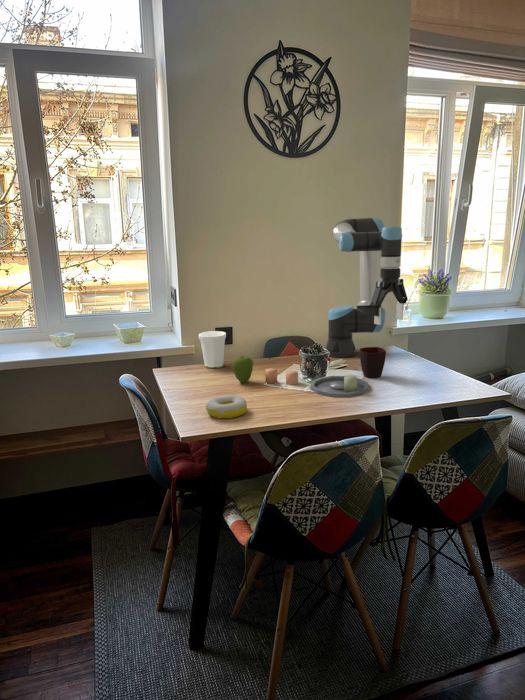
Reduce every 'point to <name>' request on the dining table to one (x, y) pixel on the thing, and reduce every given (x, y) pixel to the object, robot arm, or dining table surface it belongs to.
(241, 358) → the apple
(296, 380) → the terracotta bead
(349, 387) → the olive bead
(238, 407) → the donut
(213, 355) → the cup
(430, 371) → the dining table surface
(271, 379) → the terracotta bead
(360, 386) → the groove tray
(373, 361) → the mug
